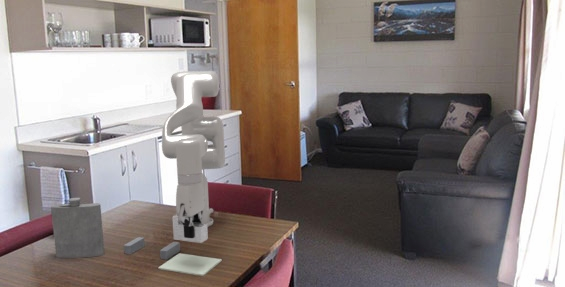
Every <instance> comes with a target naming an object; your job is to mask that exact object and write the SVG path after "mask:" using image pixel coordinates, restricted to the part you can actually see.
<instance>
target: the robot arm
mask: <svg viewBox="0 0 565 287" xmlns="http://www.w3.org/2000/svg"><path fill="white" fill-rule="evenodd" d="M170 82H171V83H170V84H171V87H172V88H171V89H172V90H173V93H174V95H175V97H176V99H175V100H176V101H175V102H176V108H175V109H176V110H174V111H173V112H172V113H170V115H169V116H168V117H167V119H166V120H165V122H164V124H163V126H162V132H161V150H162V154H163V156H164V157H165V158H167V159H176V173H177V186H176V192H175V193H176V194H175V215H176V214H177V216H179V218H178V221H180V222H181V223H182V225H183V226H184V237H185V238H194V228H193V226H192V222H199V223H207V228H209V227H211V226H212V225H213V224H214V218H212V217H210V215H212V214H213V213H214V209H213V208H212V207H211V208H210V207H209V204H210V203H209V185H208V184H209V183H208V179H207V176H206V175H205V174H204V173H203V170H217V169H219V170H220V169H221V168H224V166H225V162H226V153H225V152H226V149H225V133H224V123H223V120H222V119H221V118H220V117H218V116H214V115H213V116H205V115H204V106H203V102H202V98H212V97H213V98H215V97H217V96H218V94H219V91H220V81H219V75H218V73H217V72H216V71H215V70H201V71H200V70H198V71H197V70H194V71H193V70H190V71H189V70H188V71H185V70H184V71H177V72H175V73H172V75H171V77H170ZM180 127H181V134H173V132H174V131H175V130H176V129H178V128H180ZM208 142H211V143H212V144H208Z"/></svg>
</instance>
